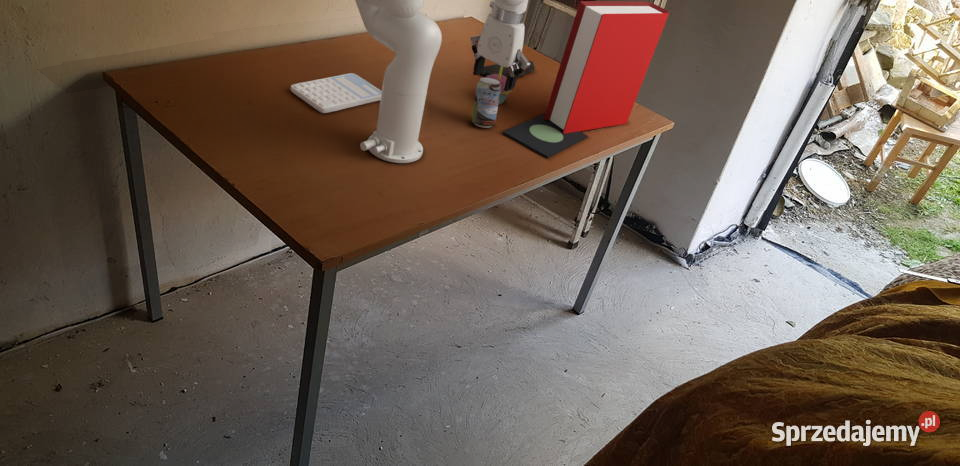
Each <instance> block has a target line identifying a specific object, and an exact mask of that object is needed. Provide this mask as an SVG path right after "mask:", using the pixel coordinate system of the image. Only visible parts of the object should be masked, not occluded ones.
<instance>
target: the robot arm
mask: <svg viewBox="0 0 960 466" xmlns="http://www.w3.org/2000/svg"><path fill="white" fill-rule="evenodd" d="M354 1H355V4H356V7H357V9H358V12H359V14H360V18H361V21H362V23H363V26H364V27H365V30H366V32H367V33H368V34H369V36H370V37H371V38H372V39H373V40H375V41H376V42H378V43H380V44H382V45H383V46H384V47H386V48H388V49H389V50H390V51H392V52H393V53H394V58H393V59H392V61H391V62H390V63H389V64H388V65H387V67H386V69H385V70H384V73H383V74H384V75H383V78H382V79H383V80H382V87H381V91H382V94H381V100H379V107H378V108H379V109H378V114H377V121H376V128H375V130H374V131H373V132H372V134H371V135H370V136H369V137H368V139H367V140H365V141H362V142H360V143H359V148H360V150H361V151H362V152H363V151H364V152H365V151H368V152H370V153H371V154H372V155H373V156H375V158H378V159H380V160H383V161H385V162H389V163H394V164H409V163H415V162H416V161H418V160H420V159H421V157H422V156H423V153H424V147H423V145H422V143H421V141H419V137H420V133H421V132H420V131H421V126H422V120H423V116H424V110H425V105H426V99H427V93H428V88H429V83H430V79H431V74H432V70H433V67H434V64H435V61H436V58H437V56H438V54H439V52H440V49H441V46H442V43H443V36H442V31H441V29H440V27H439V25H438V24H437V23H436V21H434V20H433V19H432V18H431V17H430V16H428V15H426V14H425V13H423V12H422V9H423V6H424V2H425V0H354ZM528 4H529V0H494V1H490V3H489V8H491V9H492V10H491V12H490V13H489V14H488V15H487V17H486V19H485V22H484V23H483V27H482V30H481V32H480V34H478V35H477V34H476V35H472V36H470V43H471V50H472V53H473V54H474V55H473V58H474V64H473V72H472V75H473V76H478V75H481V73H483V69H484V67H485V63H486V60H488V61H491V62H492V63H495V64H498V65H500V66H503V67H507V68H508V71H509V74H510V75H508V76H507V79H506V83H505V87H504V91H506V92H507V91H509V90H512V89H513V90H514V88H515V86H516V83H517V79H518V77H517V76H518V75H520V74H522V73H523V72H525V71H526V70H527V68H528V67H529V66H530V62H529V61H530V60H529V59H527V57H526V56H525V54H524V53H523V48H524V47H523V46H524V41H525V32H526V31H525V30H526V29H525V27H526V26H525V24H524V20H525V17H526V12H527V8H528ZM528 60H529V61H528ZM519 61H520V62H521V64H522V65H521V67H520V68H519V67H518V63H519ZM512 66H513V67H512Z"/></svg>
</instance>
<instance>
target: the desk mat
mask: <svg viewBox="0 0 960 466" xmlns="http://www.w3.org/2000/svg"><path fill="white" fill-rule="evenodd" d="M544 115H545V113H542V114H540V115H537V116H535V117H533V118H530V119H529V120H526V121H524V122H521V123H519V124H517V125H514V126H512V127H510V128H507V129H505V130H503V131H502V132H501V134H503V135H504V136H506V137H508V138H510V139H511V140H514V141H515V142H516V143H518V144H520V145H522V146H524V147H526V148H528V149H530V150H531V151H533V152H535V153H536V154H538V155H540V156H542V157H544V158H545V159H549V158H551V157H553V156H554V155H556V154H558V153H561V152H563V151H564V150H566V149H568V148H570V147H572V146H574V145H576V144H578V143H580V142H581V141H584V140H585V139H587V138H588V135H587V134H585V133H584V132H582V131H578V132H571V133H565V134H563V131H564V130H563V129H562V128H560V127H559V126H557V125H556V124H555V123H553V122H552V121H550V120H543V118H544Z"/></svg>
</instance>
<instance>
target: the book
mask: <svg viewBox="0 0 960 466" xmlns="http://www.w3.org/2000/svg"><path fill="white" fill-rule="evenodd" d="M669 15H670V11H669V10H667V9H665V8H663V7H661V6H660V5H657V4H655V3H653V2H649V1H627V0H626V1H622V0H621V1H619V0H618V1H617V0H616V1H612V0H609V1H608V0H607V1H606V0H602V1H601V0H597V1H595V0H590V1H589V0H579V3H578V6H577V9H576V13H575V16H574V20H573V21H572V22H573V23H572V26H571V28H570V33H569V36H568V39H567V41H566V45H565V48H564V52H563V55H562V58H561V61H560V63H559V67H558V69H557V73H556V77H555V80H554V84H553V87H552V90H551V93H550V96H549V99H548V102H547V106H546V109H545V111H544V112H545V115H544V118H543V120H550V121H552V122H553V123H555V124H556V125H557V126H559V127H560V128H562V129H563V130H564V131H563V134H565V133H571V132H578V131H580V132H582V131H583V132H584V131H590V130H594V129H595V130H596V129H601V128H609V127H614V126H620V125H621V126H622V125H627V124H628V121H629V119H630V116H631V113H632V111H633V108H634V105H635V103H636V100H637V98H638V95H639V93H640V90H641V87H642V84H643V82H644V80H645V78H646V74H647V71H648V70H649V67H650V63H651V61H652V60H653V56H654V54H655V51H656V48H657V46H658V43H659V41H660V38H661V36H662V33H663V31H664V29H665V25H666V23H667V20H668V18H669Z"/></svg>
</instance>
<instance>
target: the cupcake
mask: <svg viewBox="0 0 960 466" xmlns="http://www.w3.org/2000/svg"><path fill="white" fill-rule="evenodd" d="M502 69H503V66H501V67H500V71H499V74H491V75H489V76H488V75H487V76H485V77H484V78H492V79H496V80H498V81H499V82H500V83H499V84H500V86H501V92H500V98H499V104H498V105H502V104H503V103H504V102H505V100H506V98H507V97H508V96H509V95H510V94H512V93H513V91H514V88H513V89H512V90H509V91H507V92H506V91H504V87H505V83H506V79H507V77H506V76H504V75H501V74H502Z"/></svg>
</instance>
